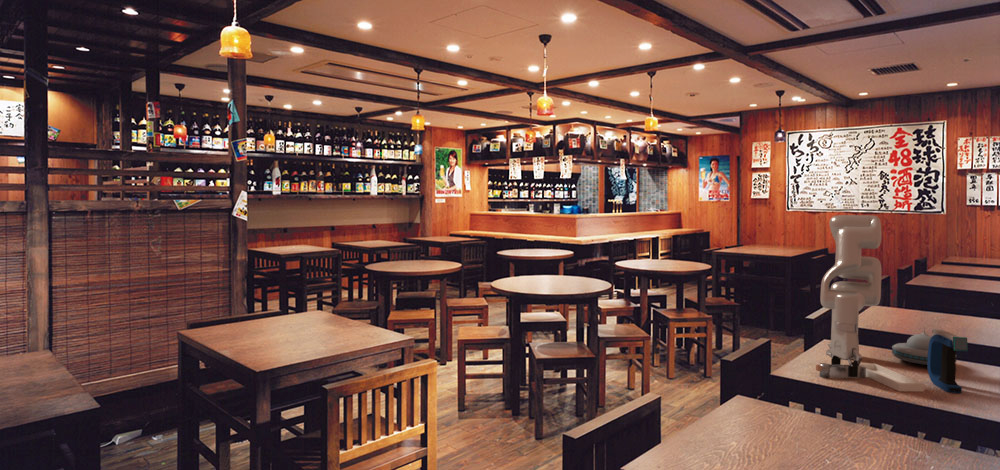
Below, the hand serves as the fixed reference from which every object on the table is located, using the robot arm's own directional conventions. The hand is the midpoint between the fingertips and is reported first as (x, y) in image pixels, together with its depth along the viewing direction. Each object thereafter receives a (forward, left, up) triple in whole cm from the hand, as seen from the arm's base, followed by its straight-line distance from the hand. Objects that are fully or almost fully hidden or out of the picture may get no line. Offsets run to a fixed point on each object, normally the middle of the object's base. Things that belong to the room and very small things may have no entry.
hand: (843, 372), depth 199 cm
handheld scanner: (+12, +28, -2) cm, 31 cm away
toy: (-17, +43, -2) cm, 46 cm away
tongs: (0, -1, -2) cm, 2 cm away
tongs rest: (+4, +13, -2) cm, 14 cm away
